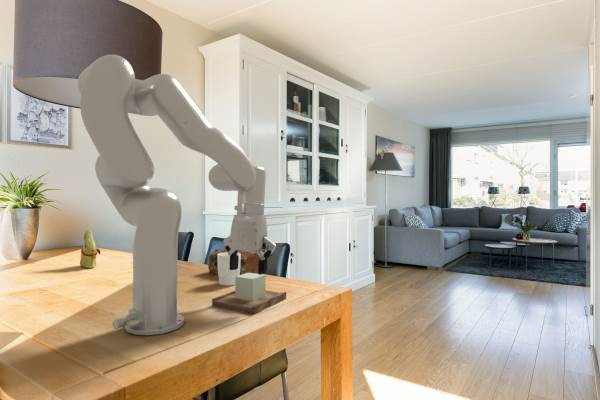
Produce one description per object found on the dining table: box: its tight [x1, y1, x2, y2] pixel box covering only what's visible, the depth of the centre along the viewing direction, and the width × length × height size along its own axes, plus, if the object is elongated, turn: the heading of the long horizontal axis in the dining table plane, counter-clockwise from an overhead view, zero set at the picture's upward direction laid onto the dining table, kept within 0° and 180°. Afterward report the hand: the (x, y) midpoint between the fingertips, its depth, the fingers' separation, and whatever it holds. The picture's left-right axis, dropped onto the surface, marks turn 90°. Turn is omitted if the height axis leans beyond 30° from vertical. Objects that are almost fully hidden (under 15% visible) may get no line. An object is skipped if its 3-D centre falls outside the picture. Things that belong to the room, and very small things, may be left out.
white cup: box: [217, 252, 241, 287], centre depth 126 cm, size 8×8×10 cm
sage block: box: [234, 273, 267, 301], centre depth 104 cm, size 6×6×6 cm
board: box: [211, 289, 287, 315], centre depth 104 cm, size 16×14×2 cm
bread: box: [207, 247, 261, 275], centre depth 140 cm, size 19×11×10 cm, turn 57°
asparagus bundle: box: [79, 229, 101, 270], centre depth 150 cm, size 7×11×15 cm, turn 45°
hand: (247, 271), depth 104 cm, fingers open, 9 cm apart
